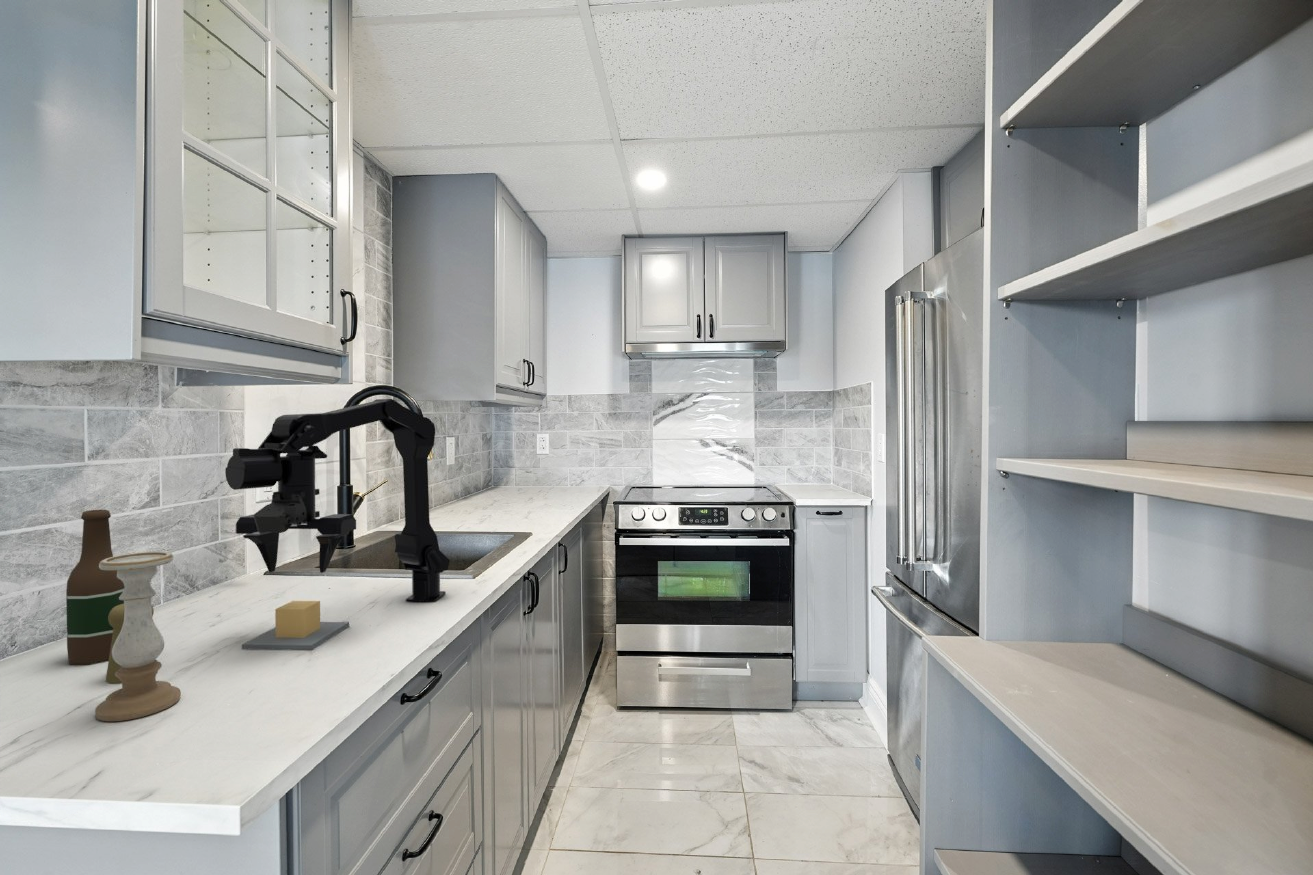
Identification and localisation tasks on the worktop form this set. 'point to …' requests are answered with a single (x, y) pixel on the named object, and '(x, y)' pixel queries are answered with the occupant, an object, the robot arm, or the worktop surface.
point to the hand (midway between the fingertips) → (297, 571)
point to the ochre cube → (297, 619)
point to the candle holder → (137, 642)
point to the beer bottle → (92, 594)
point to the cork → (116, 622)
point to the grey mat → (308, 642)
